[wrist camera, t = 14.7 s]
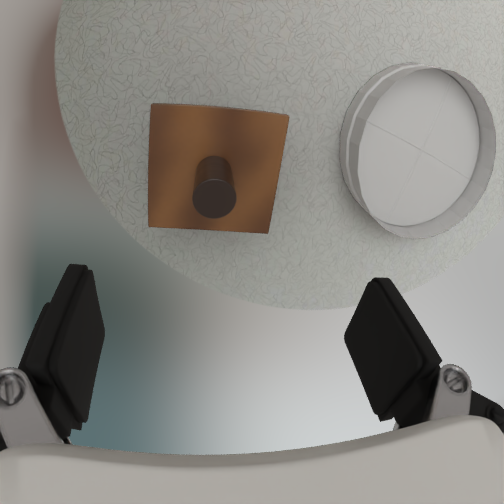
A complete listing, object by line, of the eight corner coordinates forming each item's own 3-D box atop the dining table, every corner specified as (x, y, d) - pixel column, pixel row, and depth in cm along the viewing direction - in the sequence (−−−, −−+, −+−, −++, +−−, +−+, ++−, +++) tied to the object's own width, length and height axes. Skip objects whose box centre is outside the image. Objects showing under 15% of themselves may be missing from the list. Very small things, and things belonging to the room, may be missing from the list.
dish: (492, 113, 33) (515, 123, 29) (432, 237, 44) (449, 255, 40) (377, 30, 27) (400, 28, 23) (310, 195, 38) (322, 214, 34)
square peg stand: (149, 222, 29) (137, 262, 23) (152, 103, 23) (135, 115, 17) (266, 229, 30) (279, 269, 25) (287, 114, 25) (308, 130, 19)
